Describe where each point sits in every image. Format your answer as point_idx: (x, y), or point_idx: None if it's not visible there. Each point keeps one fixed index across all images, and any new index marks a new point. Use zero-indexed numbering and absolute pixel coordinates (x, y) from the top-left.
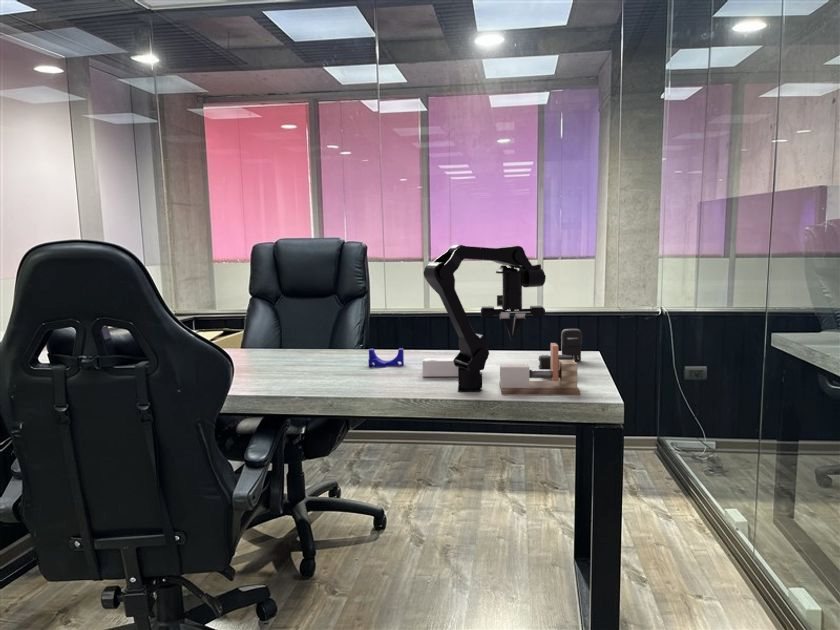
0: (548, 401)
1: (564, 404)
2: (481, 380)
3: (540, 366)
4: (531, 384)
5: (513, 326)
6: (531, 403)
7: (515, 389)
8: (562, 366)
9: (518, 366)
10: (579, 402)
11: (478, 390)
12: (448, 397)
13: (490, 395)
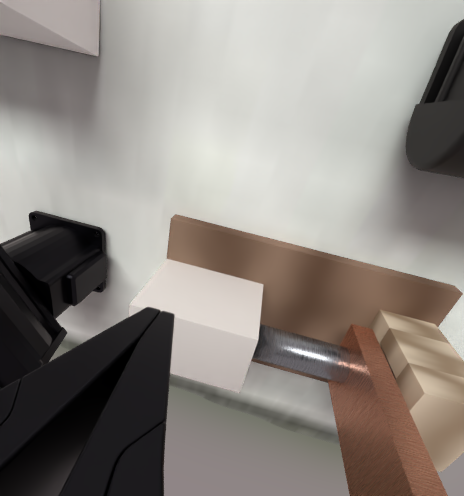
0: (263, 403)
1: (288, 428)
2: (89, 292)
3: (426, 140)
4: (272, 297)
5: (80, 477)
6: (218, 402)
7: None
8: None
9: (199, 371)
10: (332, 429)
11: (97, 291)
12: None
13: None
